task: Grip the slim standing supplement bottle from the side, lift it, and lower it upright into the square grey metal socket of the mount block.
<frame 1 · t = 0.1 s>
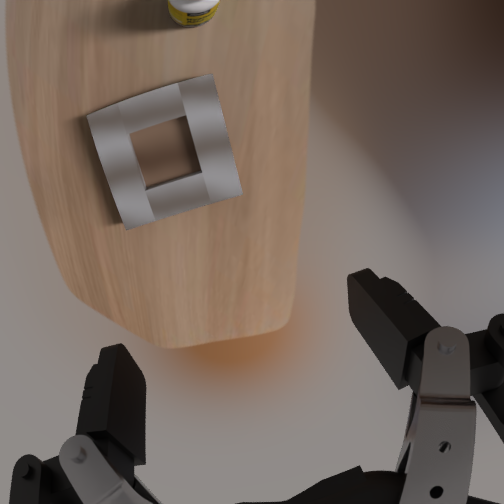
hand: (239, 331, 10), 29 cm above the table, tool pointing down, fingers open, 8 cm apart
supplement bottle: (192, 8, 28), on the table
mount block: (166, 149, 34), on the table
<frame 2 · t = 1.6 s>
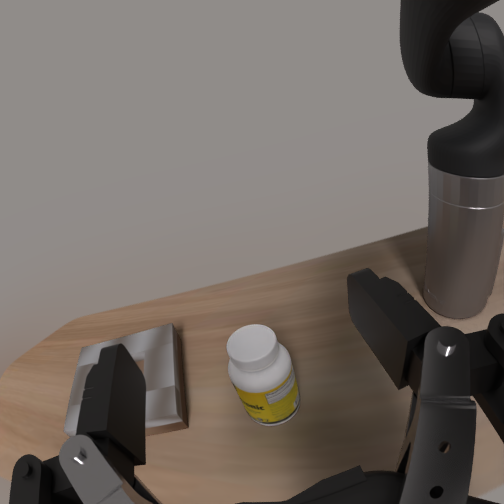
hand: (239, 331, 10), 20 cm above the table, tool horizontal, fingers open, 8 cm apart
supplement bottle: (274, 406, 29), on the table
mount block: (130, 391, 34), on the table
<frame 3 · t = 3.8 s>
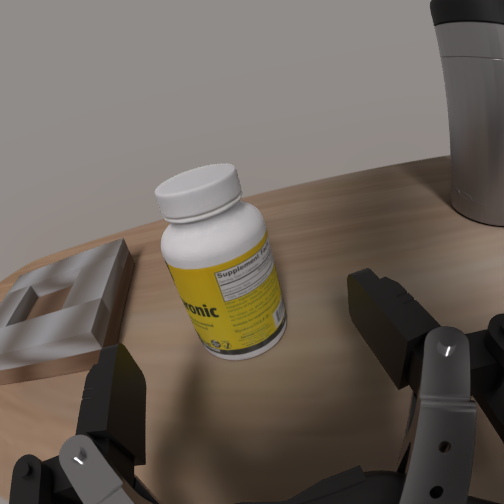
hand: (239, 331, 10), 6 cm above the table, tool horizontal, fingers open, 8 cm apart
supplement bottle: (244, 332, 19), on the table
mount block: (60, 322, 24), on the table
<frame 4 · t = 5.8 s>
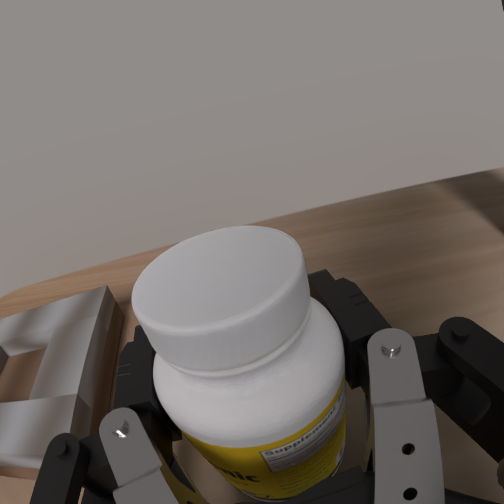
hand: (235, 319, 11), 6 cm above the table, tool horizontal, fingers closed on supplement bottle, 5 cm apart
supplement bottle: (283, 453, 12), on the table, touching gripper
mount block: (34, 395, 17), on the table
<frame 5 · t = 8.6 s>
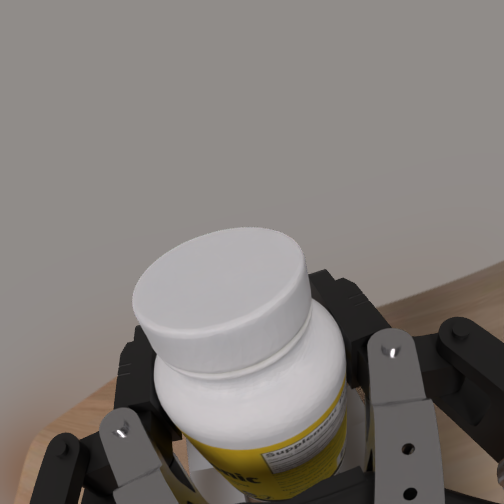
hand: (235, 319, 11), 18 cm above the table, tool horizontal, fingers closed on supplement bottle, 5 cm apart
supplement bottle: (284, 454, 12), point 12 cm above the table, touching gripper
mount block: (297, 498, 18), on the table
when the fingers open (8 cm above the table, at t = 11.5 s): supplement bottle stays where it is, resting on mount block.
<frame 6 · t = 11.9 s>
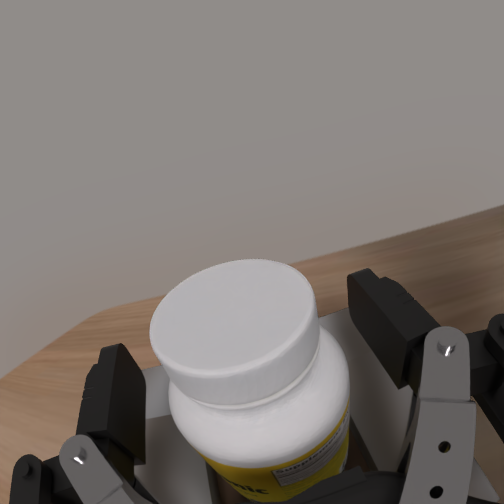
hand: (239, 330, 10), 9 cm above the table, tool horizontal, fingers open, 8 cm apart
supplement bottle: (288, 462, 12), point 1 cm above the table, touching mount block
mount block: (289, 469, 13), on the table
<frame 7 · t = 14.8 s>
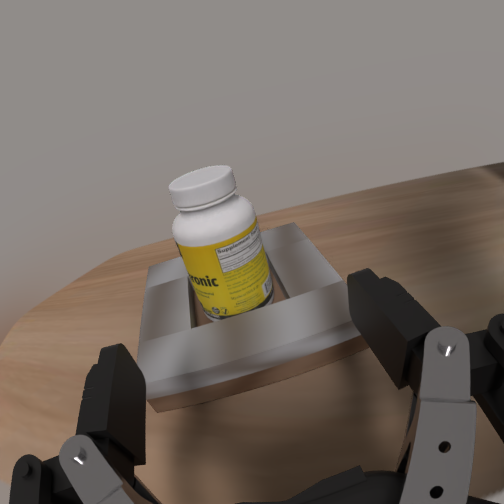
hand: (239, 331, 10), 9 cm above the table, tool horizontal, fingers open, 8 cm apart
supplement bottle: (239, 304, 23), point 1 cm above the table, touching mount block
mount block: (242, 316, 24), on the table
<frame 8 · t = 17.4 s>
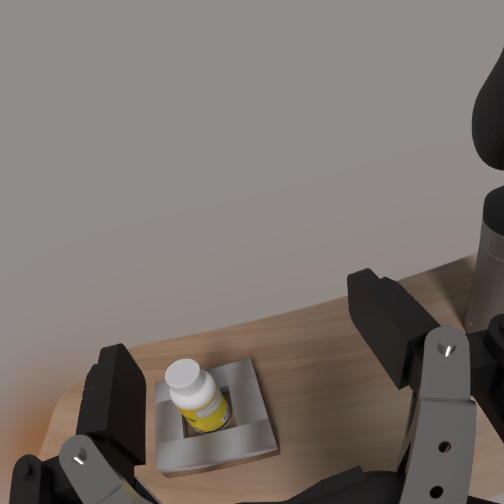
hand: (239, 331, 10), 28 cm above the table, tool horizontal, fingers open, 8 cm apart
supplement bottle: (211, 419, 36), point 1 cm above the table, touching mount block
mount block: (214, 423, 37), on the table
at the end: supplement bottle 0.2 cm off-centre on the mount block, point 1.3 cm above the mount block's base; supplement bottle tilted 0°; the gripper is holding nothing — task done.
